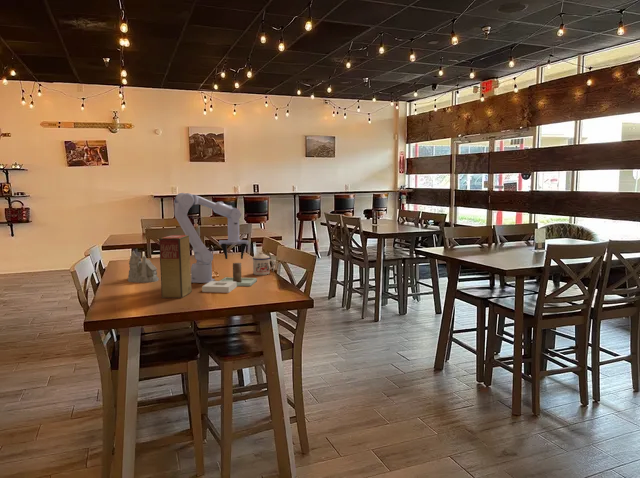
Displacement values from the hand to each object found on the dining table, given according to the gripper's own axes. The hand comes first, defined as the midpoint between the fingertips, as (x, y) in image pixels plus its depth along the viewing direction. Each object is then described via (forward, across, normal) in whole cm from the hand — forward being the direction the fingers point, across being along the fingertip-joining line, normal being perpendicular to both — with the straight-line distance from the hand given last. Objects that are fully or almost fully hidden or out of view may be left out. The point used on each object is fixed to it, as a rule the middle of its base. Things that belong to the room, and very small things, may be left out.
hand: (234, 258), depth 236 cm
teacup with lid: (+10, +14, +12) cm, 21 cm away
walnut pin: (+9, +3, -13) cm, 16 cm away
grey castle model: (+10, -44, -1) cm, 45 cm away
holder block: (+10, -3, -26) cm, 28 cm away
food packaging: (+10, -20, -35) cm, 42 cm away
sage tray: (+10, +3, -13) cm, 16 cm away
